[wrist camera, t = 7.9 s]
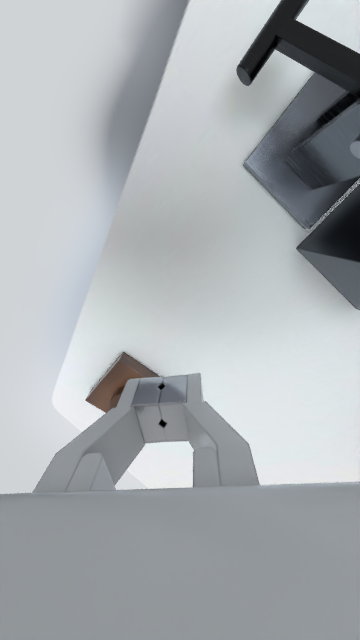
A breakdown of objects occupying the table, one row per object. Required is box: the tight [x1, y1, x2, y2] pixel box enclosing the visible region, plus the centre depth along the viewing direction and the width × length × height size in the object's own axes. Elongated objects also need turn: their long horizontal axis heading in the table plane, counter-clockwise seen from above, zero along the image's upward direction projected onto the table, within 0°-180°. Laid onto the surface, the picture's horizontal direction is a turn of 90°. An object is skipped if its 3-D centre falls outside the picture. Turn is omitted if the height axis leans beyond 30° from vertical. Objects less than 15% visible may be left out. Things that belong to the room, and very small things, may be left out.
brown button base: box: [86, 352, 159, 413], centre depth 35 cm, size 12×10×4 cm
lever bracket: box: [243, 73, 360, 229], centre depth 17 cm, size 10×10×13 cm
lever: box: [236, 0, 360, 98], centre depth 14 cm, size 12×6×2 cm, turn 51°
